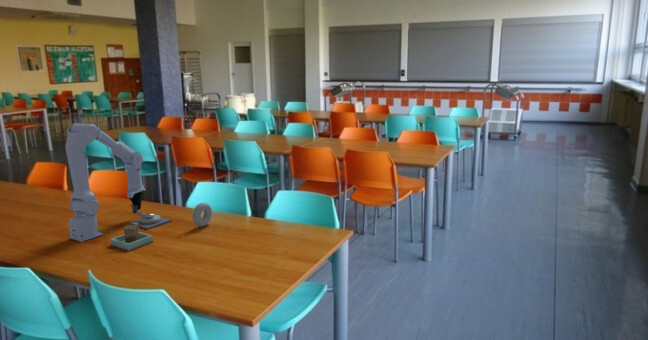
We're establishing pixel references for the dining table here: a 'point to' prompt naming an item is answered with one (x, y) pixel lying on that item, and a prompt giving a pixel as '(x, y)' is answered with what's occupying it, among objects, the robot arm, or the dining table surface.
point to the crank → (135, 211)
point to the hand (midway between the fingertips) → (137, 209)
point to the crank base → (163, 221)
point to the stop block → (131, 233)
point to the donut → (197, 214)
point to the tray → (122, 244)
